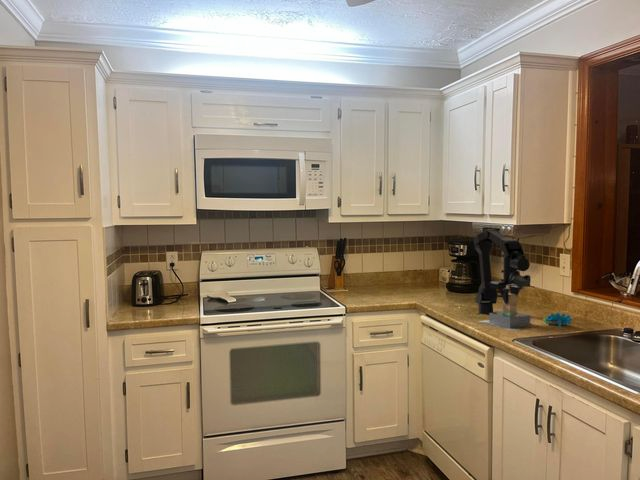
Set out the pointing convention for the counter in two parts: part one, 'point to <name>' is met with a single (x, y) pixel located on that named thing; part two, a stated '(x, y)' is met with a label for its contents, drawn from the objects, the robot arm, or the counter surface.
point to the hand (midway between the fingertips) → (509, 303)
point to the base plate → (505, 328)
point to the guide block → (509, 319)
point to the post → (510, 305)
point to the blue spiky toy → (558, 319)
